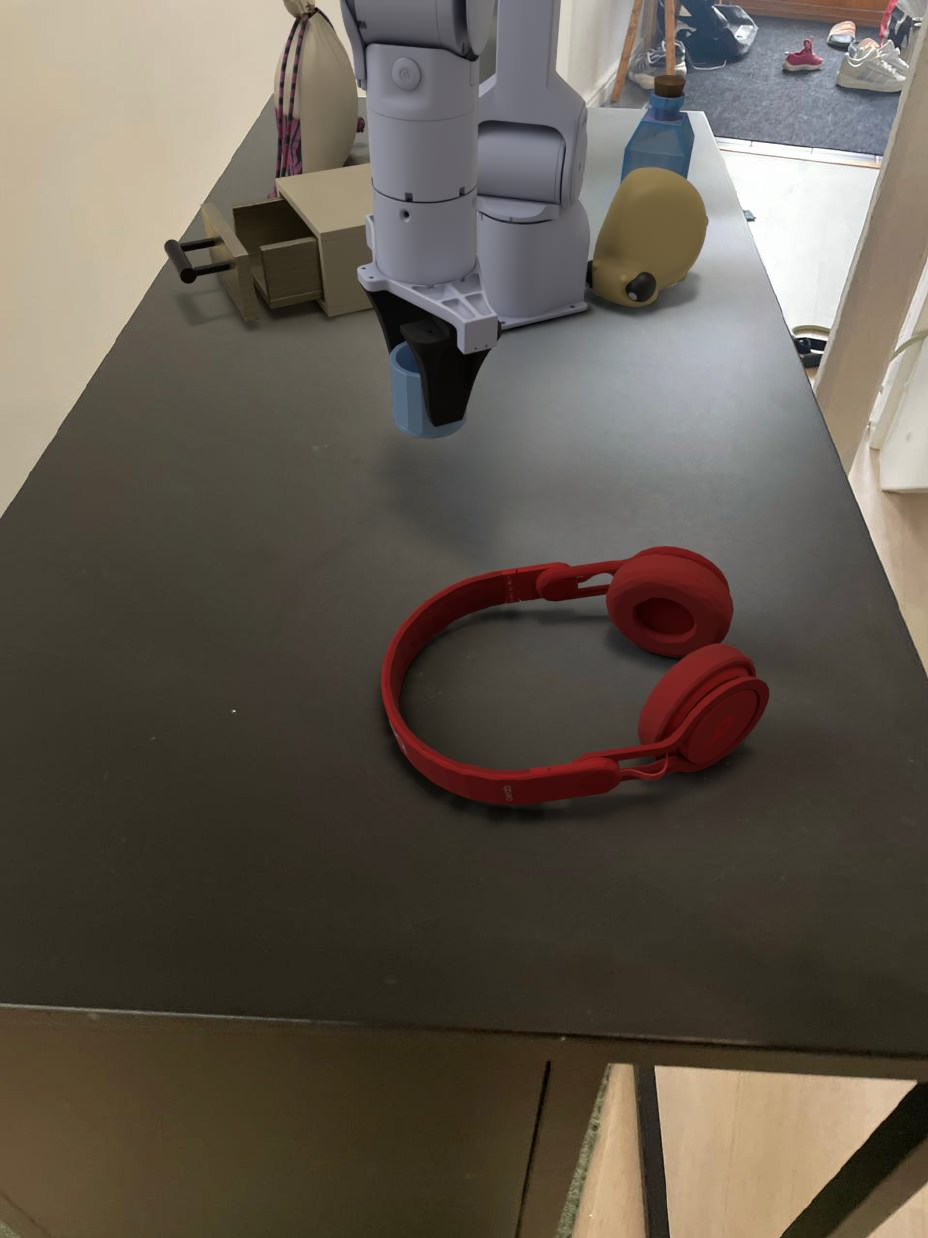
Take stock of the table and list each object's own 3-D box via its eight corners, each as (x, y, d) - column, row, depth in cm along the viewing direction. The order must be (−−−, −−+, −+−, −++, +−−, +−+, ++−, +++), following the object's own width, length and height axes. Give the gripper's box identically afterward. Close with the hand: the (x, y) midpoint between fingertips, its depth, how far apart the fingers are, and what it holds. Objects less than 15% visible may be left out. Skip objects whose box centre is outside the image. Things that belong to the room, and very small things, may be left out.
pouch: (317, 140, 111) (298, -51, 97) (384, 144, 110) (374, -47, 96) (255, 227, 94) (220, 11, 80) (332, 233, 93) (311, 16, 79)
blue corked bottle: (683, 195, 100) (706, 74, 92) (674, 218, 96) (696, 92, 88) (628, 187, 102) (645, 67, 93) (616, 209, 98) (632, 85, 89)
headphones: (709, 594, 57) (394, 639, 58) (717, 507, 52) (371, 558, 53) (783, 797, 47) (399, 848, 48) (802, 715, 42) (372, 774, 43)
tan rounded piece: (592, 307, 90) (544, 263, 81) (650, 191, 88) (608, 132, 79) (675, 340, 85) (635, 297, 76) (739, 218, 83) (705, 158, 74)
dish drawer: (196, 332, 78) (182, 266, 73) (166, 275, 85) (151, 212, 80) (390, 291, 83) (387, 227, 79) (347, 240, 90) (341, 179, 86)
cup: (447, 390, 62) (447, 330, 59) (478, 427, 59) (479, 366, 56) (382, 407, 61) (378, 346, 57) (410, 446, 58) (408, 384, 55)
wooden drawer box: (328, 317, 81) (319, 232, 76) (285, 258, 89) (274, 178, 84) (475, 285, 86) (477, 203, 80) (422, 232, 93) (420, 154, 88)
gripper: (310, 146, 52) (332, 357, 62) (408, 250, 43) (416, 477, 53) (422, 128, 54) (427, 335, 64) (538, 224, 46) (523, 447, 55)
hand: (429, 398), depth 59 cm, fingers closed on cup, 5 cm apart
